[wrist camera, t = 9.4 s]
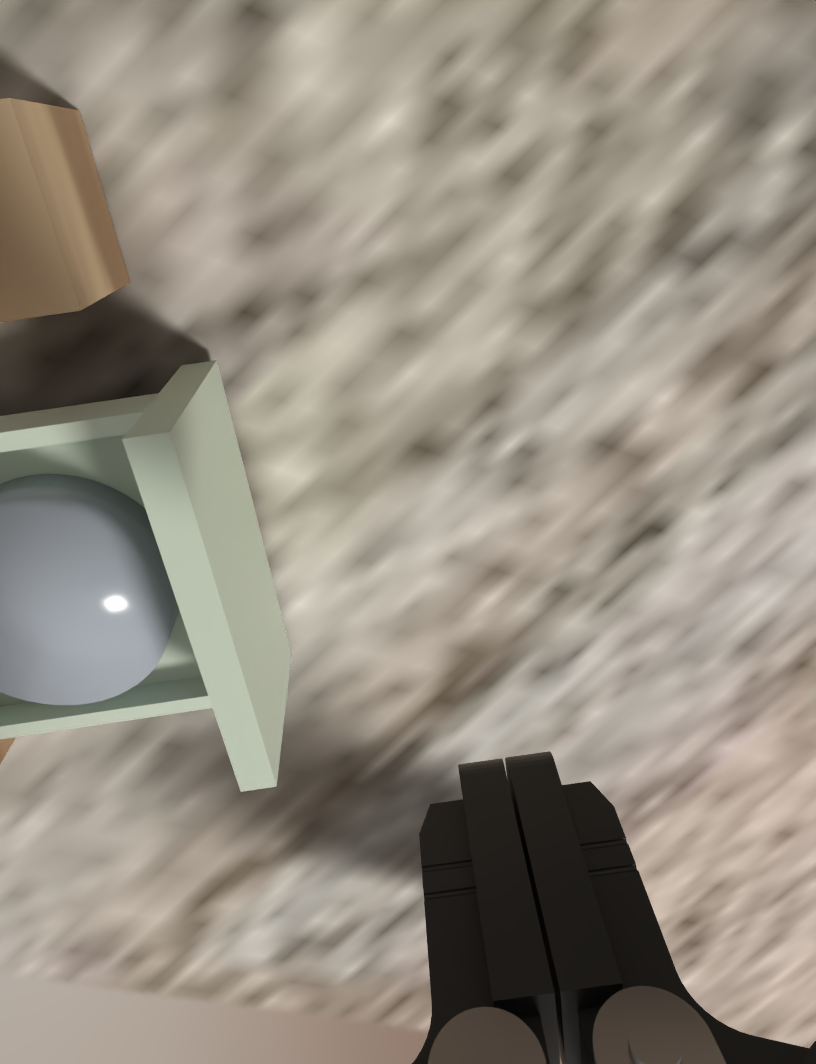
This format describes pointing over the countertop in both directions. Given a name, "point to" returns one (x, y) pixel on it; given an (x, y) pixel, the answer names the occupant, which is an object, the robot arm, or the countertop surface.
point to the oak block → (52, 215)
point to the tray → (176, 561)
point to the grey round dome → (78, 591)
